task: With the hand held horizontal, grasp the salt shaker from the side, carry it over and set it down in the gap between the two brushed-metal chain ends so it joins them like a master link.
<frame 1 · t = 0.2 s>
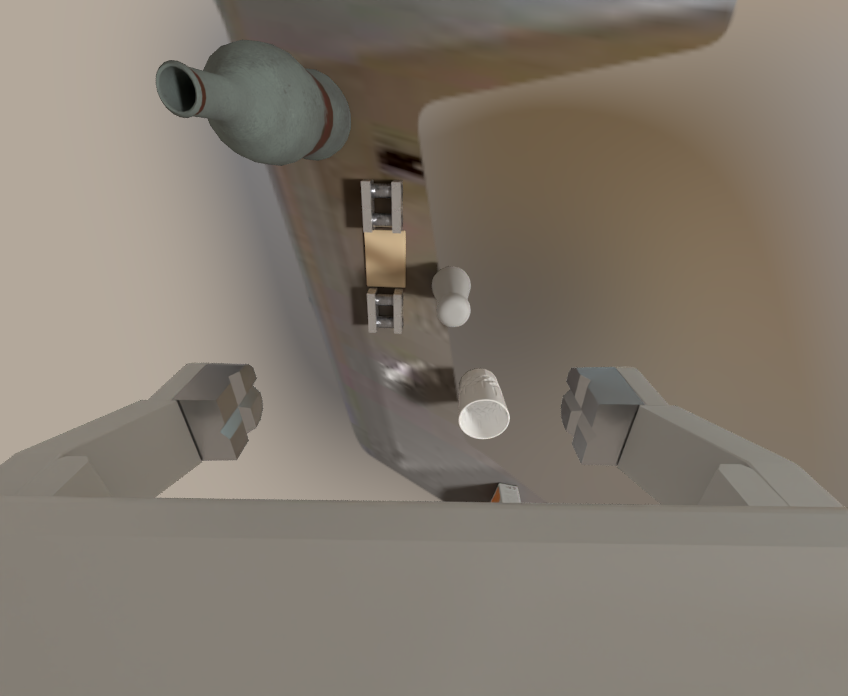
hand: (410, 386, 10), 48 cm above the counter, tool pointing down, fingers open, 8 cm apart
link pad: (385, 259, 57), on the counter
chain end a: (384, 204, 53), on the counter
salt shaker: (450, 280, 58), on the counter
chain end b: (387, 306, 60), on the counter
white cup: (478, 383, 67), on the counter
skincare box: (503, 492, 80), on the counter
bottle: (320, 118, 48), on the counter
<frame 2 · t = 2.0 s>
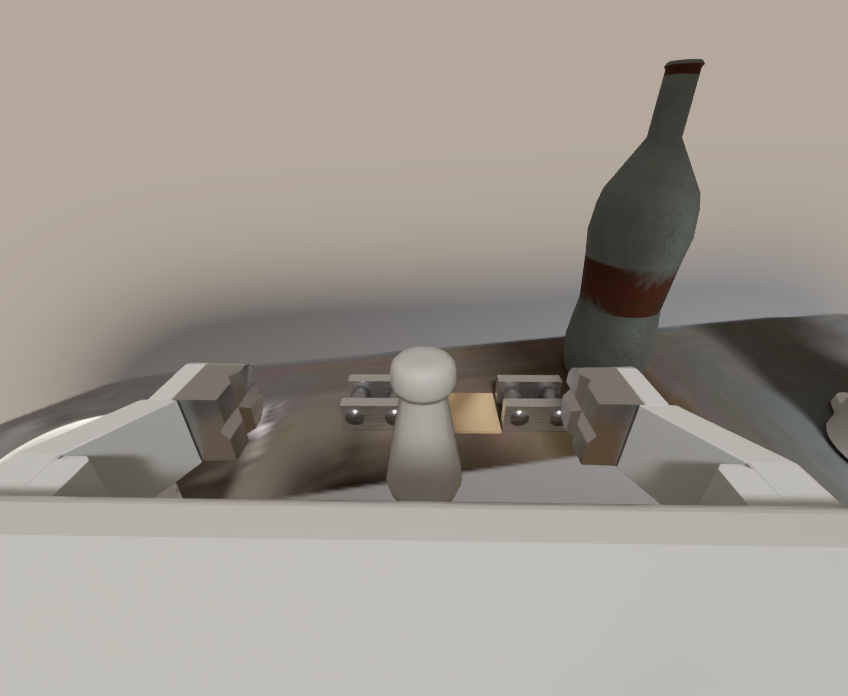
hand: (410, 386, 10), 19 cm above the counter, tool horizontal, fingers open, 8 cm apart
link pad: (454, 413, 39), on the counter
chain end a: (529, 413, 39), on the counter
salt shaker: (424, 495, 30), on the counter
chain end b: (379, 412, 39), on the counter
white cup: (142, 568, 25), on the counter
bottle: (599, 372, 45), on the counter
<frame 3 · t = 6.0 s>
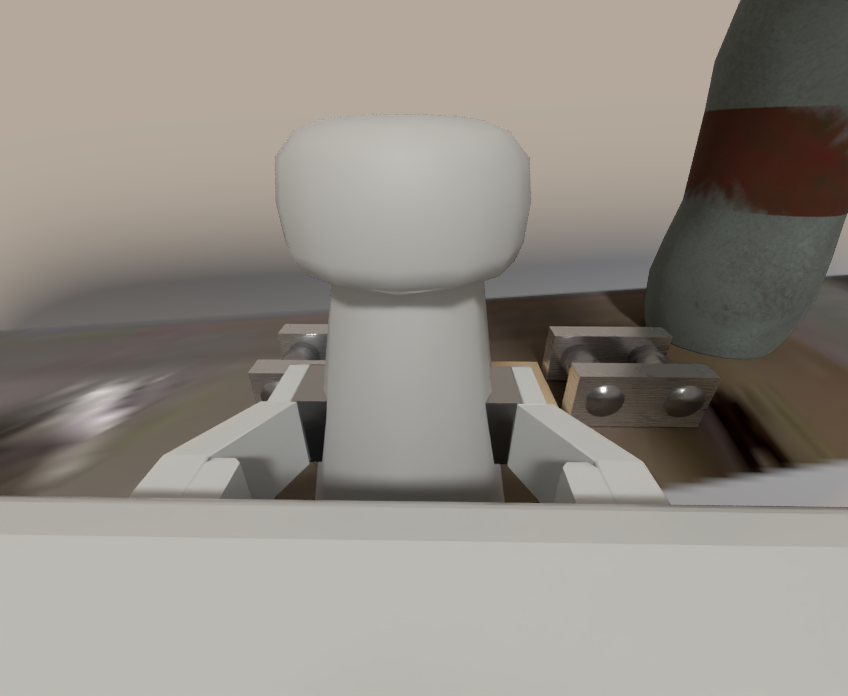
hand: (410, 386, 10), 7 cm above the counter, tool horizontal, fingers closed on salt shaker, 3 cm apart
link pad: (473, 393, 21), on the counter
chain end a: (610, 395, 21), on the counter
salt shaker: (412, 576, 13), on the counter, touching gripper
chain end b: (336, 392, 21), on the counter
bottle: (703, 334, 28), on the counter
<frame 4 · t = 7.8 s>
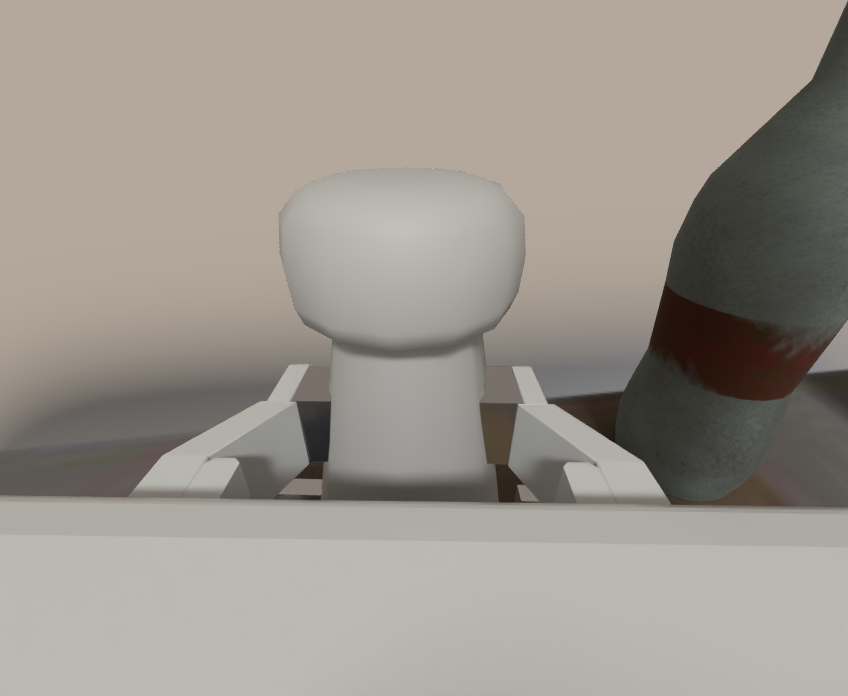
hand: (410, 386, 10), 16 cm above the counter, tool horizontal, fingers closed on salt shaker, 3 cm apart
chain end a: (572, 554, 23), on the counter
salt shaker: (413, 582, 13), point 8 cm above the counter, touching gripper
chain end b: (319, 546, 23), on the counter
bottle: (669, 461, 30), on the counter
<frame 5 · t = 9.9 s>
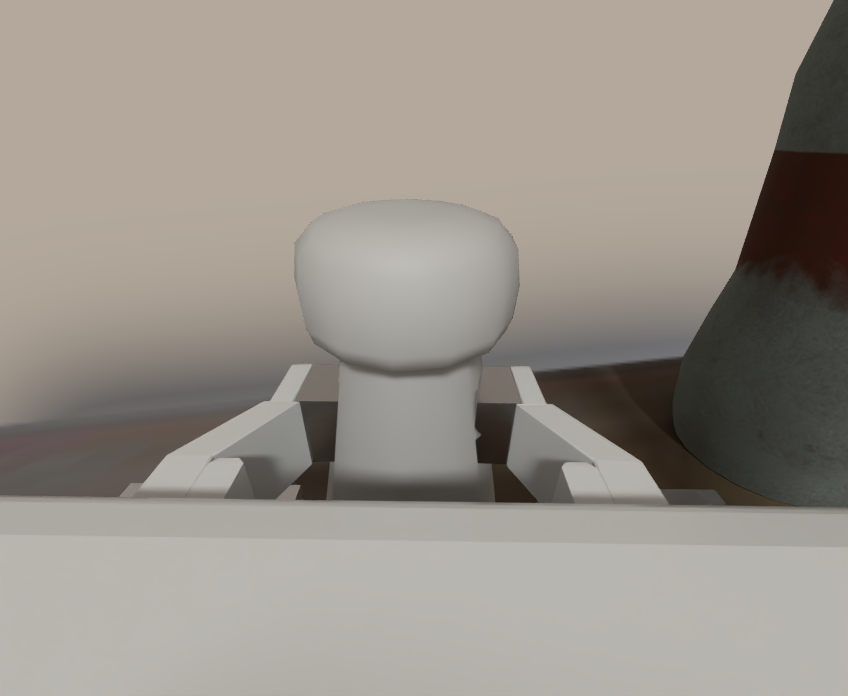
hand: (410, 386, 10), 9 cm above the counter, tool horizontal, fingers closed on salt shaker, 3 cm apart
chain end a: (637, 607, 13), on the counter
salt shaker: (412, 587, 14), resting on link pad, touching gripper
chain end b: (202, 600, 13), on the counter
bottle: (757, 449, 20), on the counter
when the fingers open (9 cm above the counter, at t = 10.1 s): salt shaker stays where it is, resting on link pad.
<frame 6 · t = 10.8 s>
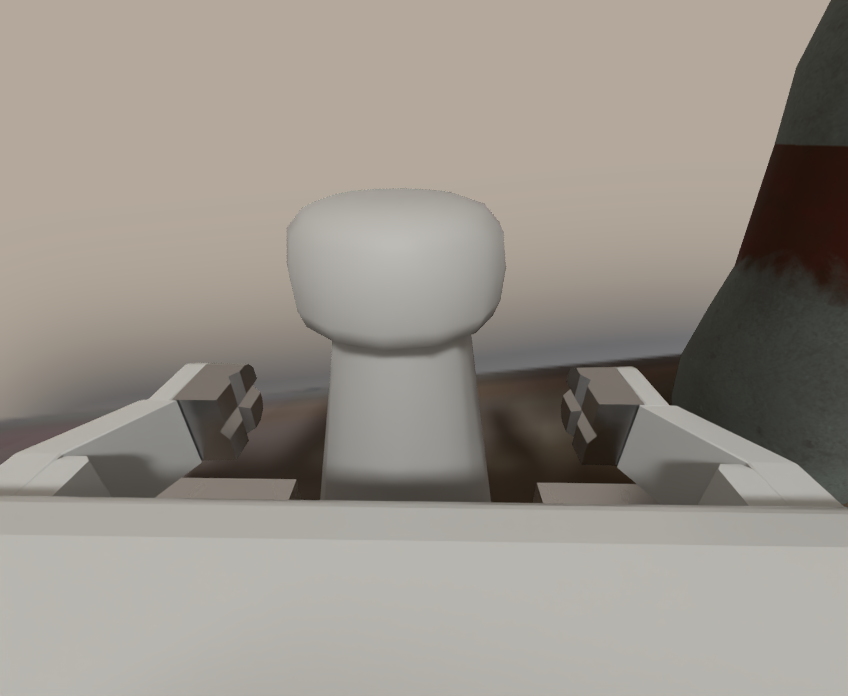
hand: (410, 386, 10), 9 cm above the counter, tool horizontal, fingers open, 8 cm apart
chain end a: (634, 602, 13), on the counter
salt shaker: (408, 583, 14), resting on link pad
chain end b: (197, 594, 13), on the counter
bottle: (755, 445, 20), on the counter
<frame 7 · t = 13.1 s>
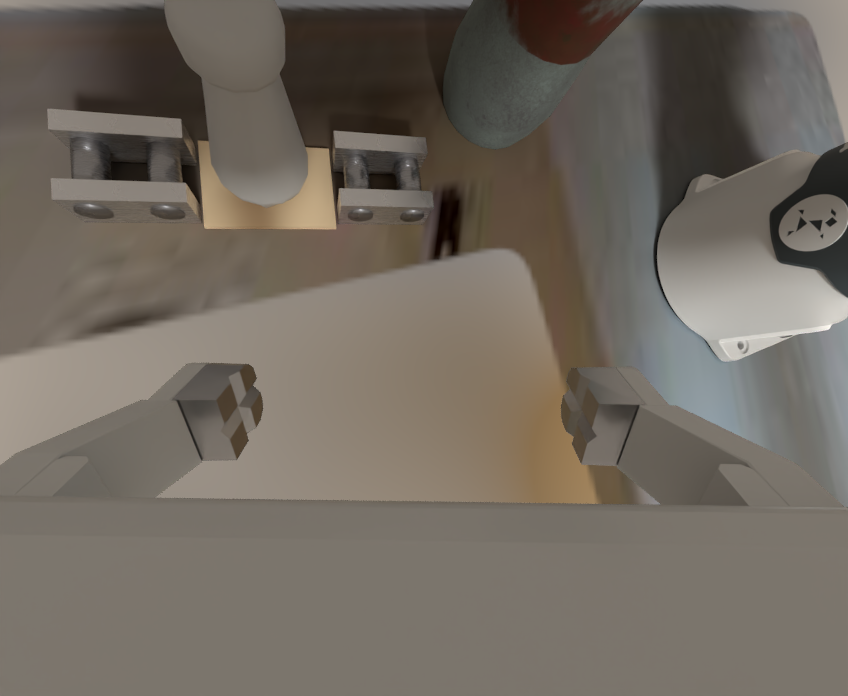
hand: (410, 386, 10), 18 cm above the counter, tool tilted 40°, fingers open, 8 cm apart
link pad: (270, 187, 27), on the counter
chain end a: (378, 191, 29), on the counter
salt shaker: (266, 180, 26), resting on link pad
chain end b: (142, 183, 24), on the counter
bottle: (485, 107, 32), on the counter
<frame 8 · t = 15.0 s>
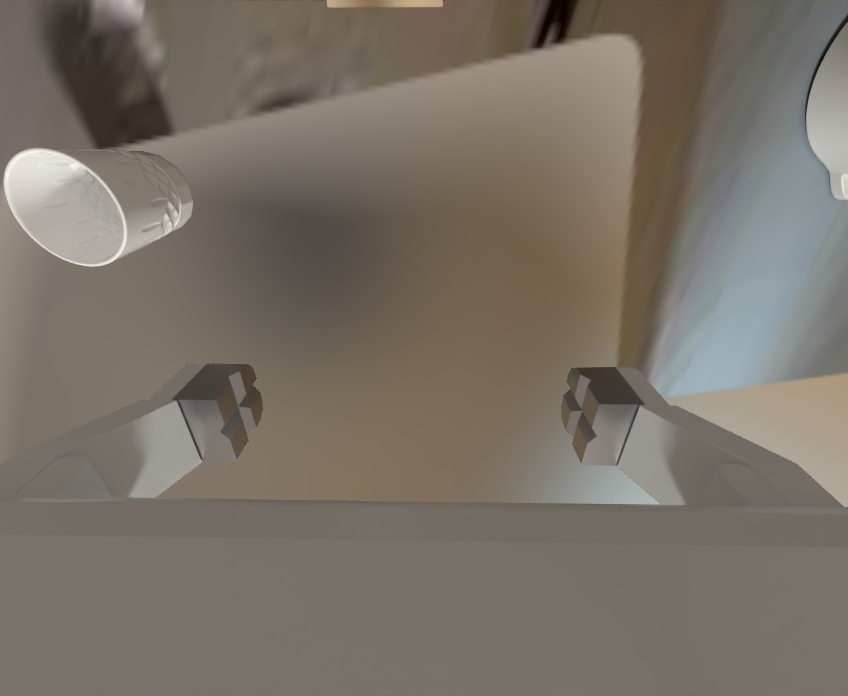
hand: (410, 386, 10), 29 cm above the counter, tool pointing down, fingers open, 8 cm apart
white cup: (158, 191, 35), on the counter
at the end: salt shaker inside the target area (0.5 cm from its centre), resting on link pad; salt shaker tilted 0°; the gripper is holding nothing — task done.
